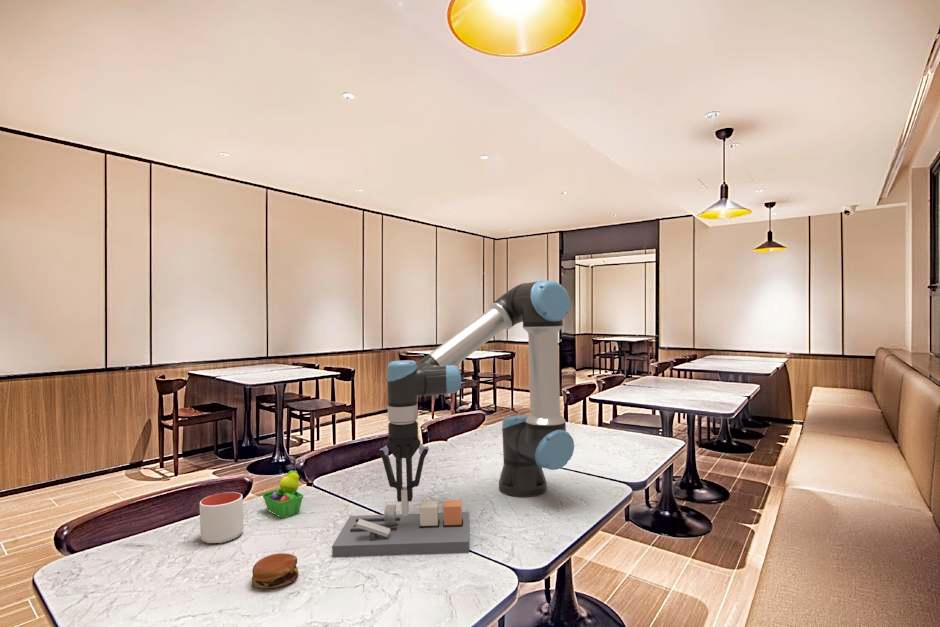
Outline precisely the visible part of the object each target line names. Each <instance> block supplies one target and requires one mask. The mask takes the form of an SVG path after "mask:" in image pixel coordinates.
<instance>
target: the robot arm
mask: <svg viewBox="0 0 940 627" xmlns="http://www.w3.org/2000/svg"><path fill="white" fill-rule="evenodd" d="M570 308H571V299H570V295H569V293H568V291H567V290H566V288H564V286H563V285H562V284H561V283H559V282H557V281H554V280H539V281H538V280H537V281H534V282H533V281H532V282H524V283H520V284H518V285H516V286H514V287H512V288H511V289H509V290H508V291H506V292H505V293H504V294H503V295H501V296H500V297H499V298H497V299H496V300H494V301H493V302H492V303H490V305H489V309H488V310H486V311H485V312H484V313H482V314H481V315H480V316H478V317H477V318H476V319H474V320H473V321H472V322H471V323H469V324H468V325H466V326H465V327H464V328H462V329H461V330H459V331H458V332H456V333H455V334H454V335H453V336H451V337H450V338H449V339H448V340H446V341H444V342H443V343H441V345H439V346H438V347H437V348H435V349H434V350H433V351H431V352H430V353H429V354H427V355H426V356H424V357H423V358H422V359H421V360H418V361H415V360H413V359H412V360H411V359H410V360H393V361H390V362H389V363H388V364H387V369H386V388H387V419H388V421H389V422H388V429H387V431H388V440H387V442H386V445H385V446H384V447H381V448H379V450H378V452H377V454H378V455H379V457H381V460H382V462H383V466H384V470H385V474H386V476H387V481H388V485H389V487H390V488H394V489H396V500H397V502H399V503H400V502H401V514H402V516H408V514H410V506H409V505H410V503H409V502H412V500H413V497H414V496H413V494H414V493H413V488H416V487H419V486H420V485H419V484H420V482H421V477H422V471H423V466H424V462H425V459H426V456H427V454H428V453H429V450H430V449H429V446H424V445H422V443H421V440H420V439H419V422H418V421H417V420H418V414H419V413H418V397H425V396H426V397H428V396H437V395H438V396H439V395H440V396H441V395H449V394H455V393H457V392H459V391H460V389H461V386H462V373H461V371H460V369H459V368H458V367H457V365H458V364H461V363H462V361H464V360H465V359H466V358H468V357H469V356H470V355H473V353H474V352H476V351H477V350H478V349H480V348H481V347H482V346H483V345H485V344H486V343H487V342H489V341H490V340H492V339H493V338H494V337H495V336H496V335H498V334H500V333H501V331H503V330H510V329H511V328H513V327H514V326H516V325H517V324H520V323H522V328H523V329H524V331H526V332H527V334H528V336H527V337H528V364H529V365H528V366H529V372H528V373H529V375H528V376H529V404H530V405H529V406H530V409H529V410H530V414H518V415H513V416H507V417H505V418H503V419H502V427H501V431H502V449H503V450H502V453H503V454H502V456H503V466H502V469H501V473H500V476H499V480H498V490H499V492H501V493H502V494H504V495H506V496H507V495H508V496H511V497H521V498H522V497H525V498H526V497H535V496H539V495H542V494H544V493H546V491H547V490H548V486H547V485H548V482H547V479H546V476H545V474H544V470H543V469H547V470H550V471H551V470H552V471H556V470H559V469H562V468H563V467H565V466H566V465H567V464H568V462H569V461H570V460H571V459H572V457H573V454H574V451H575V442H574V438H573V437H572V436H571V434H570V433H569V432H568V431H567V426H566V419H565V417H563V416H562V415H561V402H560V401H561V400H560V394H561V393H560V367H559V366H560V362H559V361H560V360H559V358H560V357H559V332H560V331H561V329H563V327H564V320H563V319H564V318H566V317H567V314H568V313H569V312H570ZM389 451H390V452H389ZM417 451H418V454H419V458H418V464H417V467H416V473H415V477H414V479H413V457H414V455H415V454H416V452H417ZM389 453H391V454H392V456H393V457H394V458H395V468H396V469H395V472H396V473H394V471H393V467H392V463H391V459H390V457H389ZM403 459H405V466H406V467H405V468H406V472H405V474H406V486H403V485H404V483H403ZM394 474H396V475H394ZM395 477H396V478H395Z"/></svg>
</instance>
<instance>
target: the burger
mask: <svg viewBox="0 0 940 627" xmlns="http://www.w3.org/2000/svg"><path fill="white" fill-rule="evenodd" d="M297 564H298V558H297V556H296V555H293V554H290V553H281V552H280V553H274V554H270V555H266V556H264V557H262V558H260V559H259V560H257V562H255V564H254V565H253V567H252V571H251V572H252V577H251V582H252V586H253V587H254V588H258V589H277V588H280V587H283V586H286V585H289V584H290V583H293V582H294V581H295V579H296V578H298V577H299V571H298V567H297Z"/></svg>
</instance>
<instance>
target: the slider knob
mask: <svg viewBox="0 0 940 627" xmlns="http://www.w3.org/2000/svg"><path fill="white" fill-rule="evenodd" d="M396 505H397V504H386V505H385V508H384V510H383V515H384V521H385V526H394V525H395V522H396V514H397V506H396Z"/></svg>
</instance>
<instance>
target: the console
mask: <svg viewBox="0 0 940 627" xmlns="http://www.w3.org/2000/svg"><path fill="white" fill-rule="evenodd" d="M359 519H362V520H365V521H368V522H371V523H374V524H377V525H380V526H383V527H387V528H390V532H389V535H388V537H385V536H382V535H379V534H376V533H373V532H370V531H367V530H364V529H361V528H358V527H356V525H357V522H358V521H359ZM469 552H470V512H469V511H462V525H444V512H439V520H438V525H437V526H420V513H408V516H402V513H396V522H395V525H394V526H385V521H384V514H368V515H367V514H365V515H349V516H348V519H347V520H346V522H345V523H344V525H343V527H342V529H341V530H340V532H339V533H338V536H337V537H336V539H335V541H334V542H333V544H332V545H331V555H332V558H336V557H338V558H340V557H363V556H364V557H365V556H366V557H368V556H390V555H391V556H395V555H397V556H398V555H399V556H400V555H424V554H426V555H428V554H430V555H431V554H452V553H453V554H458V553H460V554H461V553H469Z"/></svg>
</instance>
